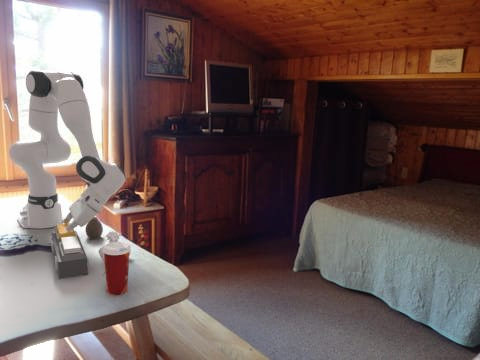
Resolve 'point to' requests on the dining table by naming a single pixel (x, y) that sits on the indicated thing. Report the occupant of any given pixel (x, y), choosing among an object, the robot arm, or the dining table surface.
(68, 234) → the amber switch
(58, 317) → the dining table surface
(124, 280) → the coffee cup
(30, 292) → the dining table surface
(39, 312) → the dining table surface
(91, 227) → the vase
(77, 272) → the power strip
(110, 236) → the bust
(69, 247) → the white flat block
